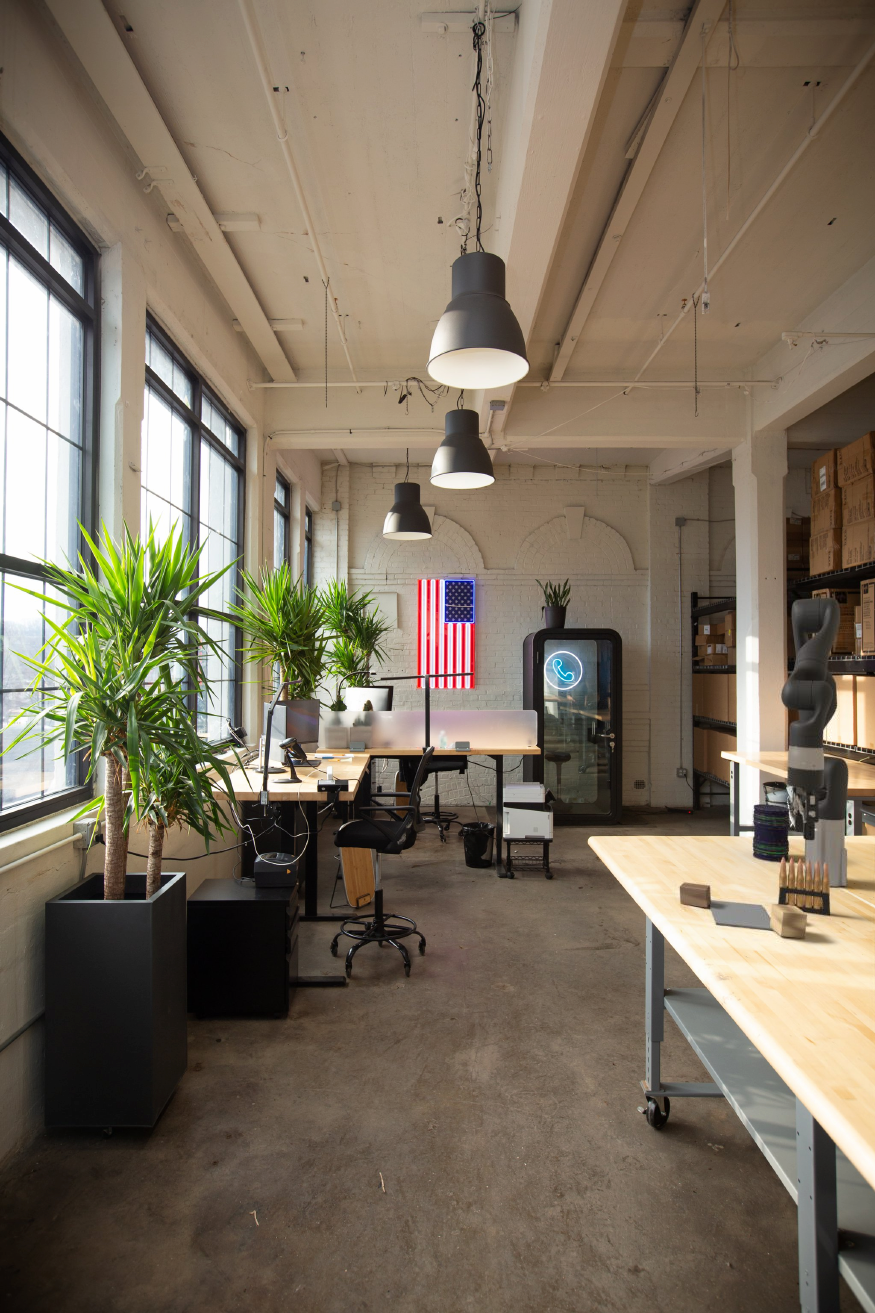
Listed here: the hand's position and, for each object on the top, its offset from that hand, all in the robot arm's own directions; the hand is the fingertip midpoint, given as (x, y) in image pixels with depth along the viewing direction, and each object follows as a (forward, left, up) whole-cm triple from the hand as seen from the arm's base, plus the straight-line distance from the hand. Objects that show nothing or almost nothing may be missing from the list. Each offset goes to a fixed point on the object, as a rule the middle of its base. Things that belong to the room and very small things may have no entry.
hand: (804, 835), depth 164 cm
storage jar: (-2, -49, -18) cm, 52 cm away
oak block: (+7, +17, -17) cm, 25 cm away
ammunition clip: (0, 0, -18) cm, 18 cm away
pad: (+15, +8, -17) cm, 24 cm away
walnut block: (+24, +3, -17) cm, 30 cm away
